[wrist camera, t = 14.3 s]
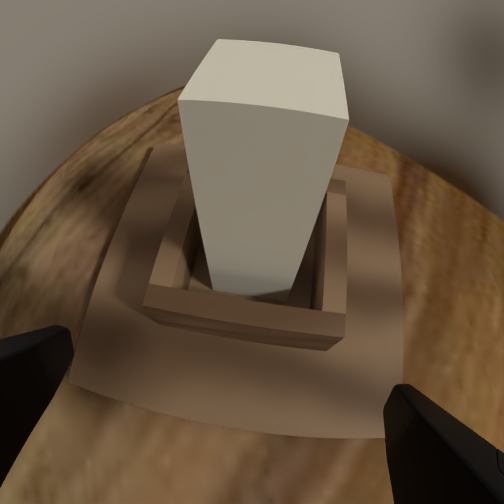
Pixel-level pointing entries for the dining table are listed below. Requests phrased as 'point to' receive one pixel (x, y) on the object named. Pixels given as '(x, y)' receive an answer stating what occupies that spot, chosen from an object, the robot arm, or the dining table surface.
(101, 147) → the dining table surface
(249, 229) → the stool leg
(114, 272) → the leg socket
